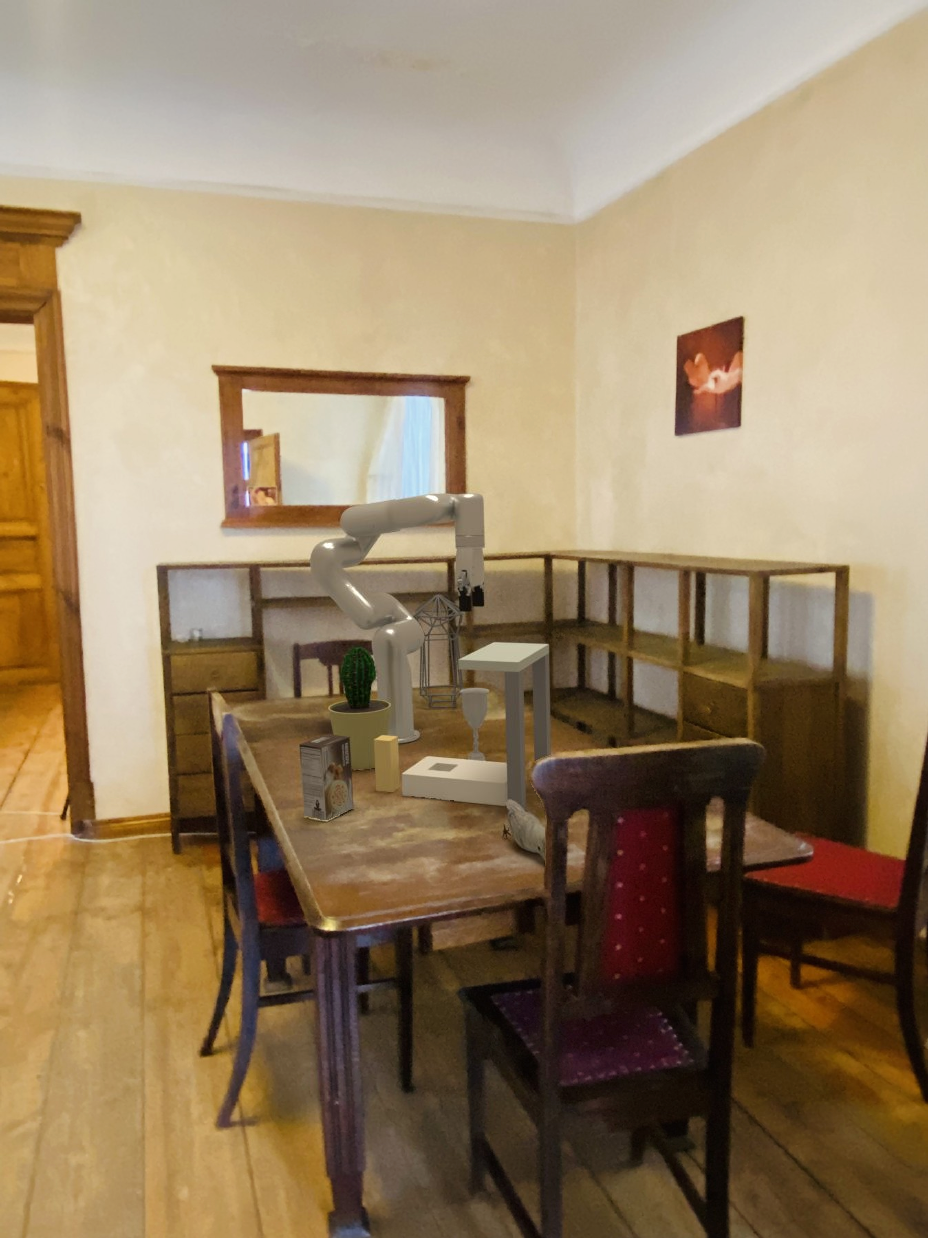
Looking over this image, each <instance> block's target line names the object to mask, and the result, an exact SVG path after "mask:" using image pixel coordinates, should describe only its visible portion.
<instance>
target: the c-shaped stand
mask: <svg viewBox="0 0 928 1238" xmlns="http://www.w3.org/2000/svg"><path fill="white" fill-rule="evenodd" d="M458 659H459V658H458ZM458 663H459V669H461V670H464V671H465V670H468V671H470V670H471V671H488V672H490V671H493V672H504V704H505V705H504V706H505V743H506V745H505V746H506V749H505V751H506V763H507V794H508V800H510V799H511V800H513V801H516V802H517V803H518V804H519V805H521V807H522V808H523V809H524V810H527V793H526V792H527V791H526V789H527V784H526V782H527V781H526V744H525V743H526V741H525V740H526V739H525V738H526V737H525V736H526V735H525V699H524V698H525V697H524V692H525V690H524V688H525V687H524V669H526V668H527V667H529V666H530V665H532V668H531V669H532V704H533V705H532V706H533V707H532V709H533V712H532V713H533V755H534V757H533V758H534V759H533V760H534V761H536V760H538V759H540V758H542V757H545V756H549V755H551V756H552V751H551V750H552V742H551V739H552V737H551V736H552V735H551V692H550V690H551V689H550V688H551V687H550V686H551V684H550V683H551V680H550V679H551V678H550V644H549V643H527V642H502V641H501V642H499V641H498V642H497V641H494V642H492V643H490V644H488V645H485V646H483V647H481V648H480V649H477V650H476V651H473V652H470V653H469V654H467V655H465V656H463V657H460V659H459V660H458ZM509 811H510V810H509V809H508V808H507V814H508V813H509Z"/></svg>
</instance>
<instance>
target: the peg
mask: <svg viewBox="0 0 928 1238" xmlns="http://www.w3.org/2000/svg"><path fill="white" fill-rule="evenodd" d="M374 751H375V769H374V771H375V773H374V774H375V791H376V790H378V791H388V792H393V791H394V792H396V791H397V790H398V788H399V787H400V788H401V781H400V780H401V779H400V759H399V758H400V757H399V756H400V755H399V743H398V736H387V735H381V736H380V737H378V738H376V739H374ZM400 788H399V789H400ZM396 789H397V790H396ZM395 790H396V791H395ZM394 792H393V793H394Z"/></svg>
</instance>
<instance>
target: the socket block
mask: <svg viewBox="0 0 928 1238" xmlns="http://www.w3.org/2000/svg"><path fill="white" fill-rule="evenodd" d="M401 788H402V789H401V791H402V792H401V794H402V796H404V797H411V796H415V797H414V798H421V797H425V798H424V799H431V798H436V799H435V800H440V799H441V800H443V801H450V800H454V801H453V802H459V803H461V802H462V803H469V804H470V803H471V804H479V805H481V804H483V805H490V806H501V807H505V806H506V807H507V805H506V804H505V803H506V802H507V800H508V794H507V762H503V761H502V762H499V761H498V762H497V761H491V760H490V761H489V760H486V761H478V760H468V759H466V758H465V759H463V758H454V757H452V758H451V757H440V756H431V755H430V756H427V755H426V756H425V757H424V758H422V759H420V761H418V762H417V763H415V764H414V765H412V766H410V767H409V768H407V770H405V771H403V772H402V773H401Z"/></svg>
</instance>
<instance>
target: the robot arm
mask: <svg viewBox="0 0 928 1238" xmlns="http://www.w3.org/2000/svg"><path fill="white" fill-rule="evenodd" d="M484 504H485V503H484V497H483V495H482V494H480V493H473V492H472V493H459V494H454V493H446V492H445V493H427V494H422V495H415V496H409V497H403V498H399V499H395V498H394V499H388V500H387V499H386V500H382V501H377V502H371V503H365V504H364V503H363V504H358V505H353V506H351V507H348V508H347V509H345V510H344V511H343V512H342V514H341V515H340V519H339V520H340V521H339V522H340V523H339V524H340V527H341V529H342V531H343V532H344V533H345V534H346V535H345V537H336V538H329V539H325V540H323V541H320V542H318V543H317V544H316V545H315V546H314V547H313V549H312V551H311V553H310V558H309V566H310V571H311V575H312V577H313V579H314V581H315V582H316V584H318V586H319V587H320V589H322V590H323V591H324V593H326V594H327V595H328V596H329V597H330V598H331V599H332V600H333V601H334V602H335V604H336V605H337V606H338V608H340V609H341V611H342V612H343V613H344V614H345V615H346V616H347V617H348V618H349V619H350V620H351V621H352V622H353V624H355V626H357V627H358V628H359V629H361V630H363V631H368V630H369V631H370V630H375V629H376V631H375V632H374V634H373V635H372V638H371V650H372V652H373V653H372V654H373V655H372V656H373V660H375V661H374V662H375V664H376V666H377V667H376V666H375V667H376V668H375V670H376V671H377V672H376V673H377V674H376V679H377V680H378V681H377V680H376V691H377V693H376V695H377V696H376V697H377V700H384V701H387V702H389V703H390V704H391V706H390V719H389V729H388V736H398V744H406V743H411V742H414V741H417V740H419V738H420V736H421V734H420V732H419V730H417V729H415V726H414V724H415V723H414V705H413V703H414V699H413V696H414V695H413V681H412V669H411V668H412V667H411V665H410V662H409V659H408V655H410V654H413V653H416V652H417V651H418V650H420V648H421V646H422V647H423V642H424V639H425V638H424V633H425V631H424V629H422V628H423V626H422V625H421V626H422V627H421V626H420V624H421V623H420V622H419V623H420V624H419V623H418V622H417V620H416V619H415V618H414V617H413V614H411V613H410V612H409V610H408V609H407V608H405V606H403V604H402V603H401V602H399V600H397V598H395V597H394V596H393V595H392V594H389V593H388V592H383V591H381V592H380V591H379V592H378V591H377V592H373V593H371V592H369V591H368V590H367V589H366V588H365V587H364V586H363V585H362V584H361V583H360V581H359V580H358V579H356V578H355V577H354V576H353V575H351V574H350V573H348V572H347V571H345V570H344V569H347V568H352V567H356V566H358V565H360V564H361V563H362V562H363V561H364V559H365V558H366V557H367V556H368V554H369V553H370V551H371V550H372V548H374V545H375V544H376V542H377V541H378V539H379V538H380V536H381V535H385V534H389V533H390V534H391V533H396V532H397V533H398V532H400V531H401V530H403V529H407V528H413V527H414V528H415V527H420V526H427V525H436V524H447V523H452V522H454V534H455V535H454V539H455V540H454V542H455V547H454V548H455V549H456V553H455V565H454V566H455V569H454V570H455V572H454V573H455V574H454V575H455V576H454V579H455V580H454V585H455V587H456V588H457V591H458V593H457V595H458V606H459V609H458V610H459V611H461V612H462V613H463V612H466V613H467V612H469V613H470V612H472V611H473V607H476V608H477V607H480V608H481V607H482V608H483V607H485V586H484V585H485V561H484V559H485V558H484V549H485V548H486V542H485V541H486V540H485V539H486V537H485V535H486V534H485V511H484V510H485V505H484ZM377 628H378V629H377ZM423 631H424V632H423ZM375 664H374V665H375ZM378 665H379V666H378ZM377 676H378V677H377Z"/></svg>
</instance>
